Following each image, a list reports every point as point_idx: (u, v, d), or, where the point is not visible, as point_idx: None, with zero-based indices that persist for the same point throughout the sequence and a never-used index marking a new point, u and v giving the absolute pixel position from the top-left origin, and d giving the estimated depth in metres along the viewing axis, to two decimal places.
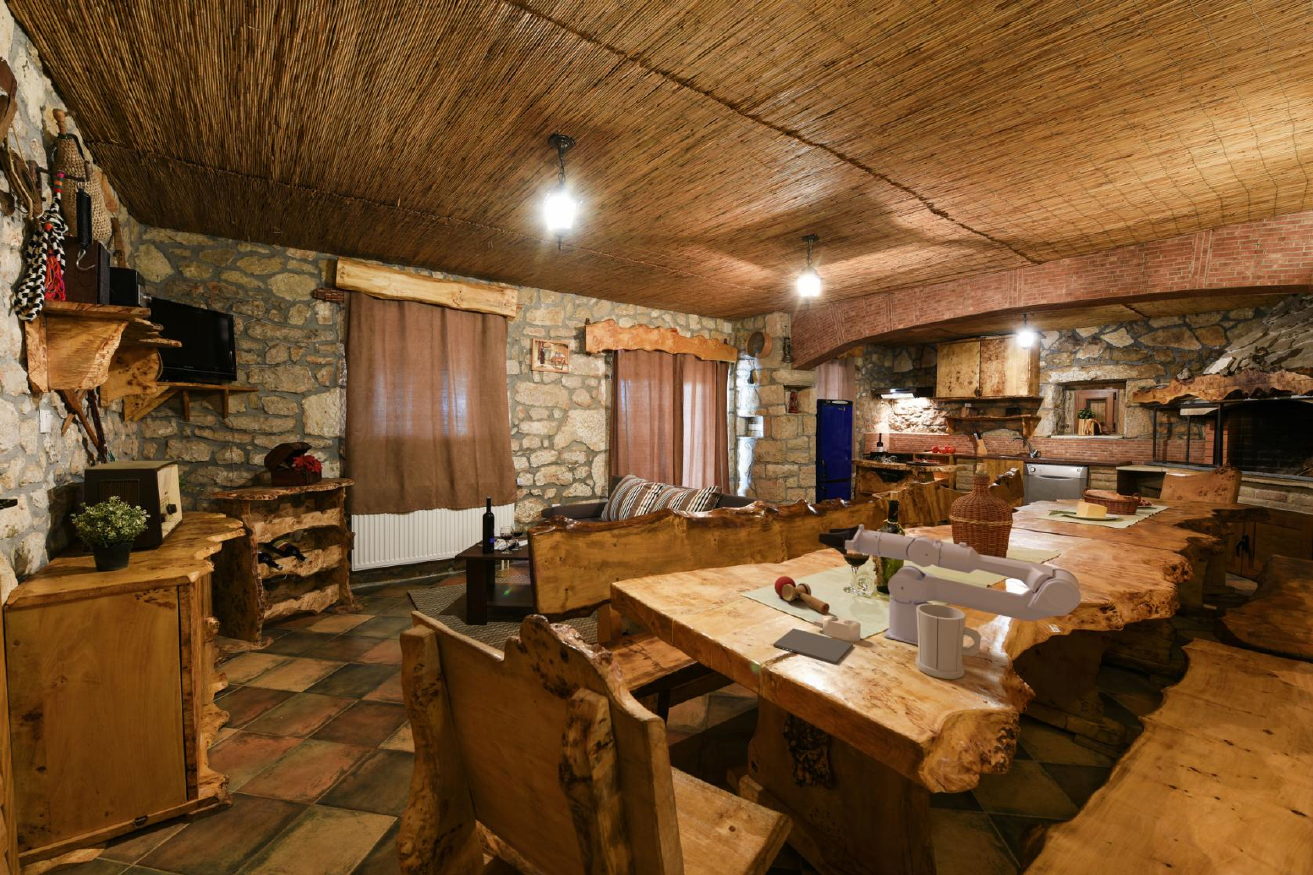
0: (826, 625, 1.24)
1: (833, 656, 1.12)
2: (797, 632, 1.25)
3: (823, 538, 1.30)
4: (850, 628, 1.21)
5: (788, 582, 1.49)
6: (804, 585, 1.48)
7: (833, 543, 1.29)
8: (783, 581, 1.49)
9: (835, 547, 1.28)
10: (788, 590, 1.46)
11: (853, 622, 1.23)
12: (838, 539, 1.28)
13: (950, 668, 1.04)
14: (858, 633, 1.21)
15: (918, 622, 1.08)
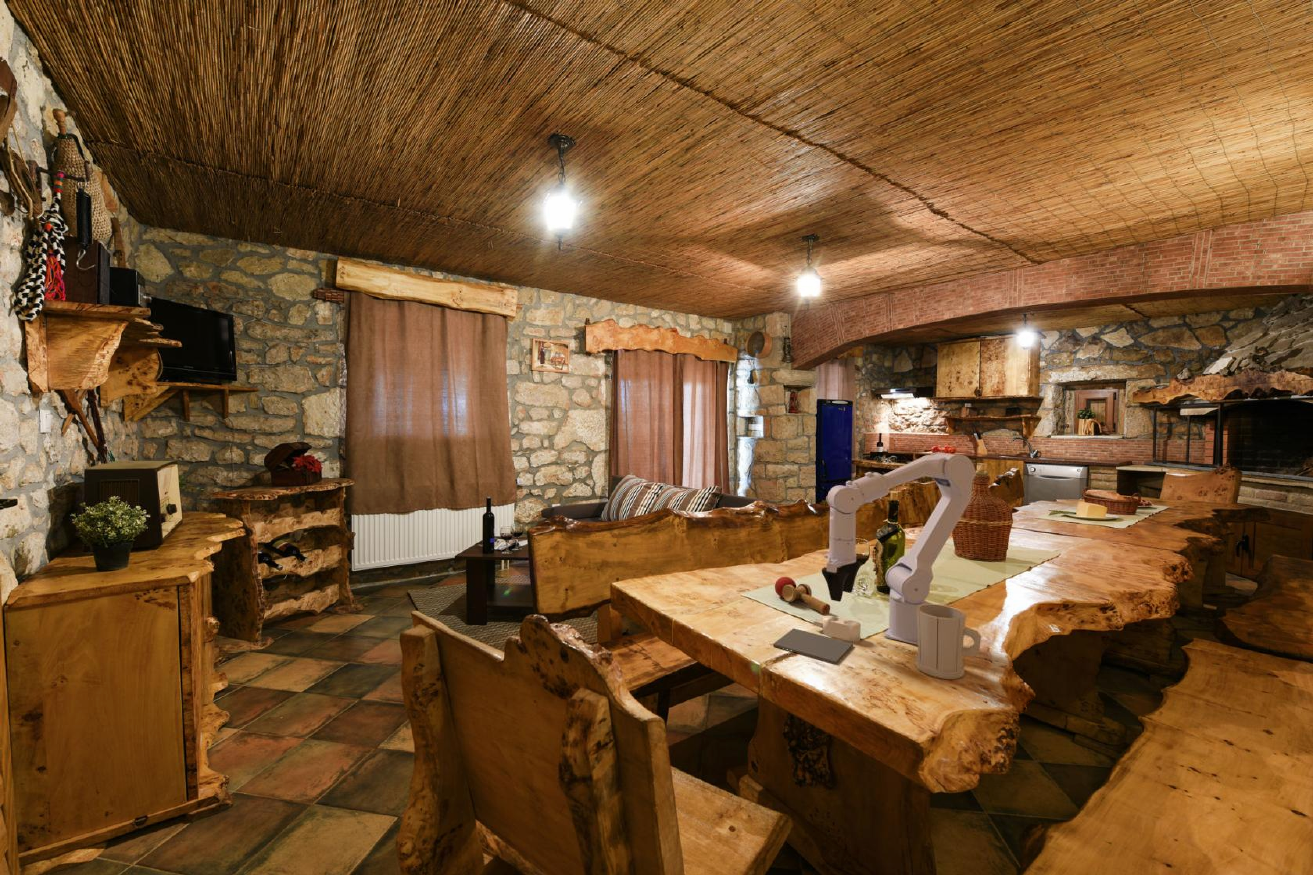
0: (826, 624, 1.24)
1: (833, 656, 1.12)
2: (797, 632, 1.25)
3: (834, 595, 1.20)
4: (850, 628, 1.21)
5: (788, 582, 1.48)
6: (804, 586, 1.47)
7: (838, 585, 1.20)
8: (783, 582, 1.49)
9: (840, 583, 1.19)
10: (788, 590, 1.46)
11: (853, 622, 1.23)
12: (833, 579, 1.20)
13: (950, 668, 1.04)
14: (858, 633, 1.21)
15: (918, 622, 1.08)
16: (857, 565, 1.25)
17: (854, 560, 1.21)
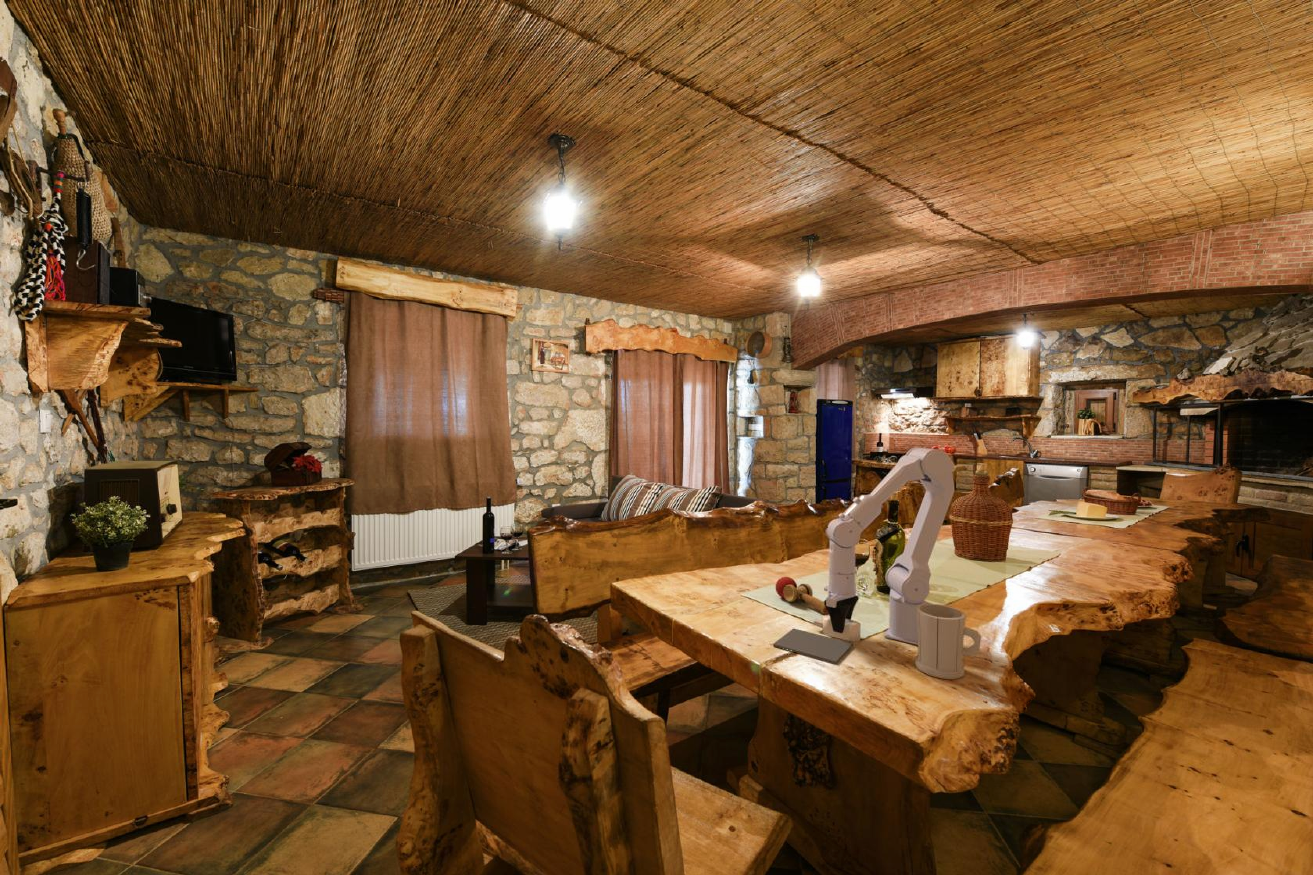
0: (826, 624, 1.24)
1: (833, 656, 1.12)
2: (797, 632, 1.25)
3: (836, 626, 1.22)
4: (850, 628, 1.21)
5: (789, 583, 1.48)
6: (805, 586, 1.47)
7: (840, 617, 1.21)
8: (784, 582, 1.48)
9: (842, 615, 1.20)
10: (789, 590, 1.46)
11: (853, 622, 1.23)
12: (835, 611, 1.22)
13: (950, 668, 1.04)
14: (858, 633, 1.21)
15: (918, 622, 1.08)
16: (854, 600, 1.24)
17: (854, 594, 1.22)
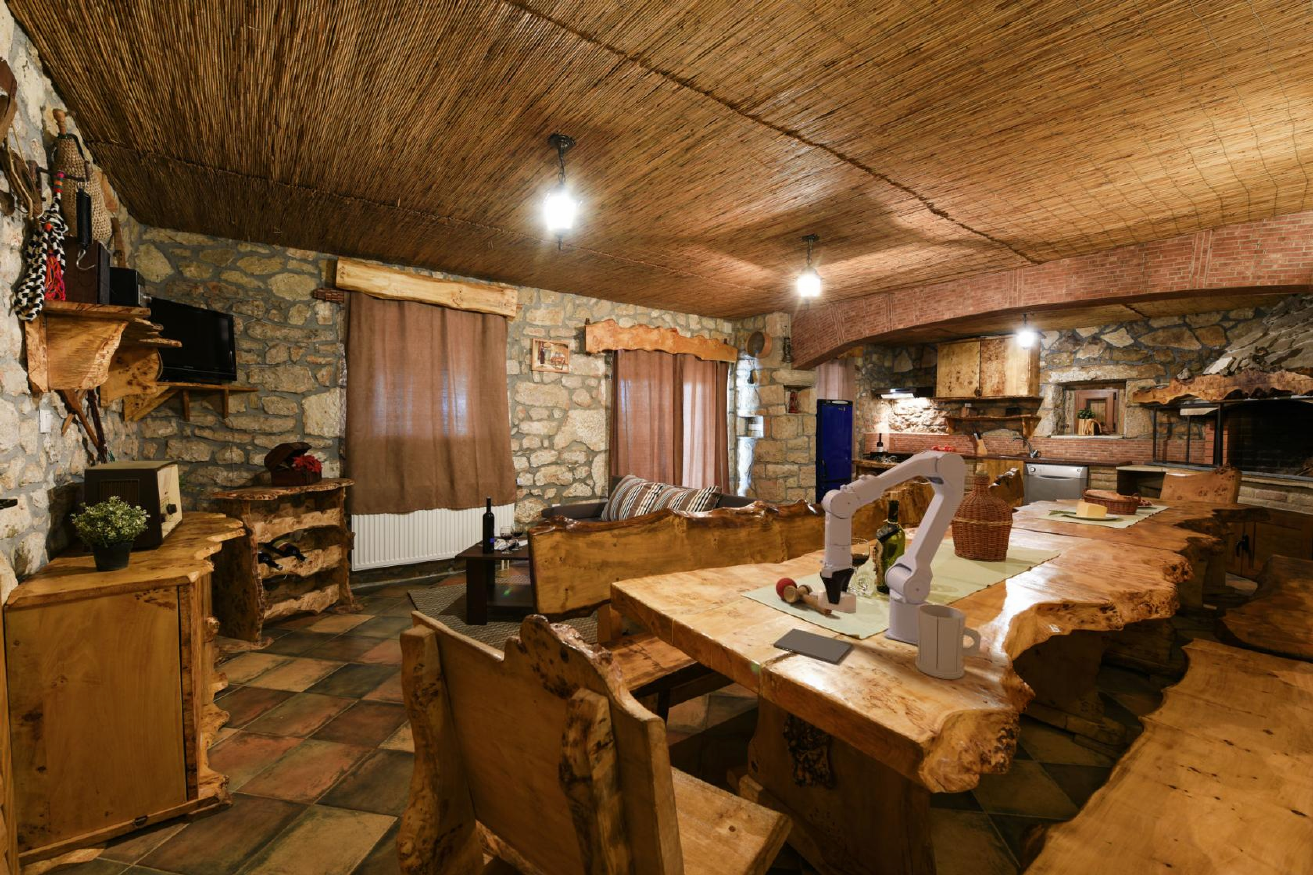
0: (822, 596, 1.23)
1: (833, 656, 1.12)
2: (797, 632, 1.25)
3: (832, 598, 1.21)
4: (845, 599, 1.20)
5: (790, 583, 1.47)
6: (806, 586, 1.47)
7: (836, 588, 1.20)
8: (784, 583, 1.48)
9: (838, 586, 1.19)
10: (790, 591, 1.45)
11: (849, 594, 1.22)
12: (831, 582, 1.21)
13: (950, 668, 1.04)
14: (854, 605, 1.20)
15: (918, 622, 1.08)
16: (850, 572, 1.23)
17: (849, 565, 1.20)
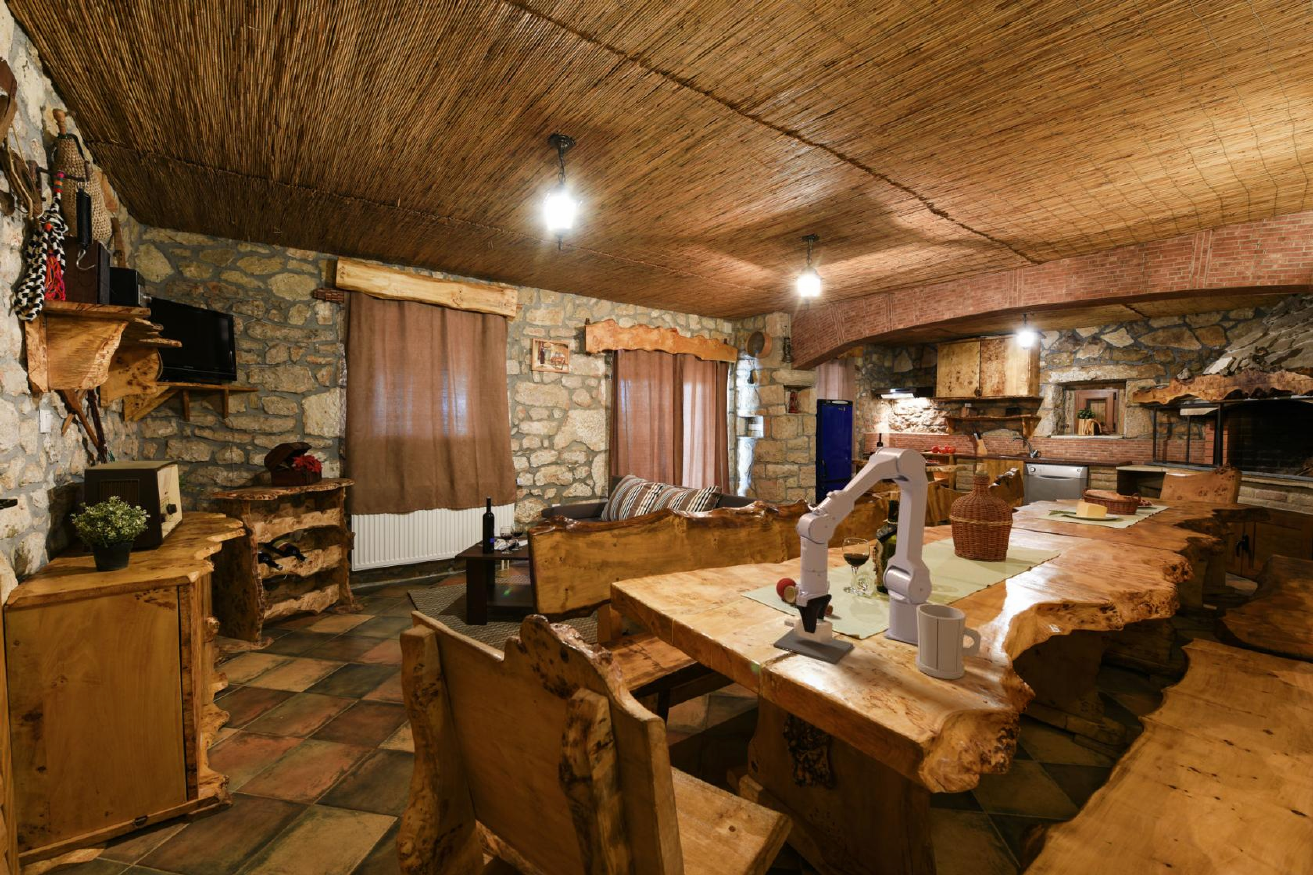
0: (797, 624, 1.19)
1: (833, 656, 1.12)
2: None
3: (807, 626, 1.16)
4: (821, 628, 1.15)
5: (790, 584, 1.47)
6: None
7: (812, 616, 1.16)
8: (785, 583, 1.47)
9: (813, 615, 1.15)
10: (790, 592, 1.45)
11: (825, 622, 1.17)
12: (807, 610, 1.16)
13: (950, 668, 1.04)
14: (830, 633, 1.15)
15: (918, 622, 1.08)
16: (827, 598, 1.18)
17: (826, 592, 1.16)
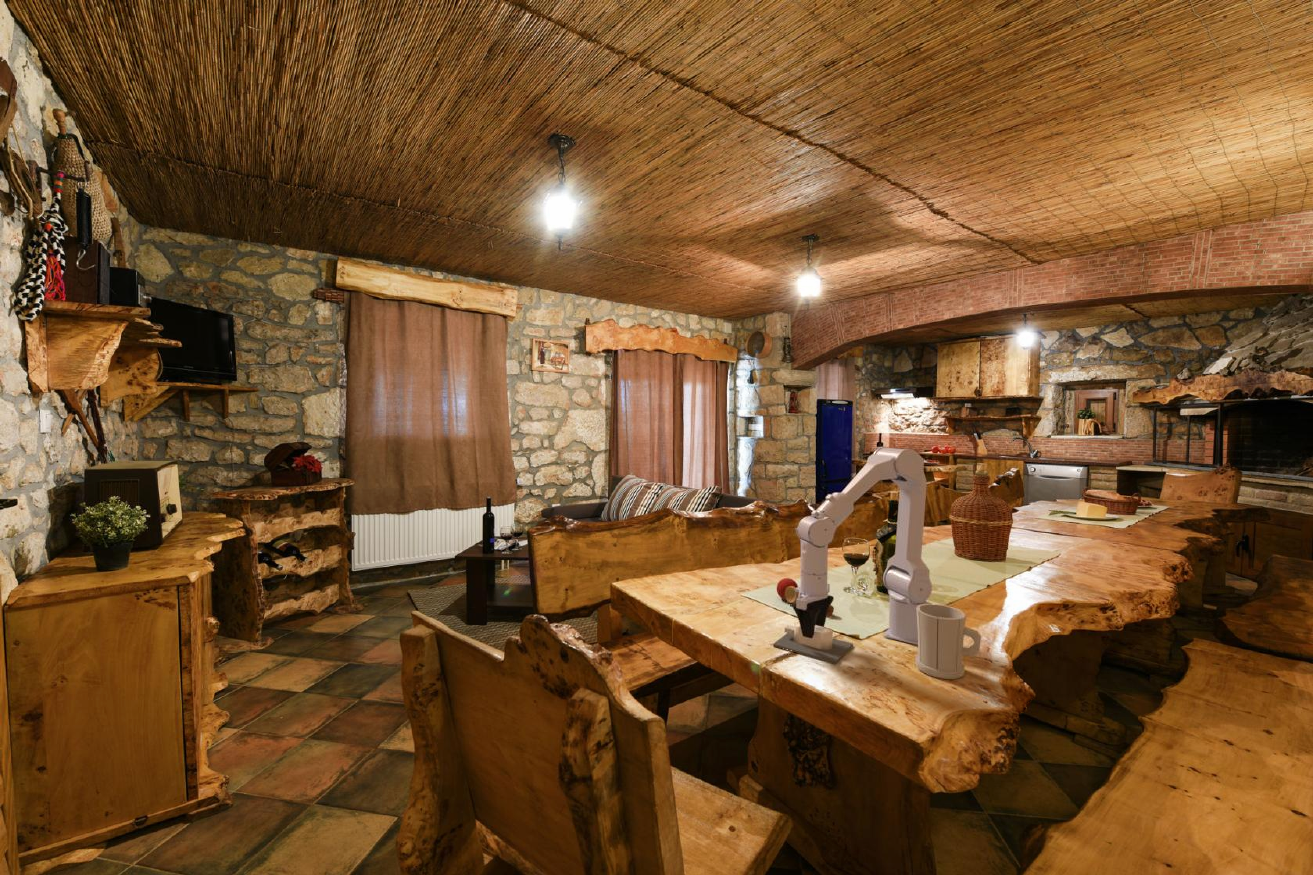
0: (797, 631, 1.19)
1: (833, 656, 1.12)
2: None
3: (806, 631, 1.16)
4: (821, 635, 1.15)
5: (791, 584, 1.47)
6: None
7: (810, 621, 1.15)
8: (785, 583, 1.47)
9: (811, 619, 1.14)
10: (791, 592, 1.45)
11: (825, 629, 1.17)
12: (805, 615, 1.16)
13: (950, 668, 1.04)
14: (830, 640, 1.15)
15: (918, 622, 1.08)
16: (829, 600, 1.19)
17: (826, 595, 1.16)
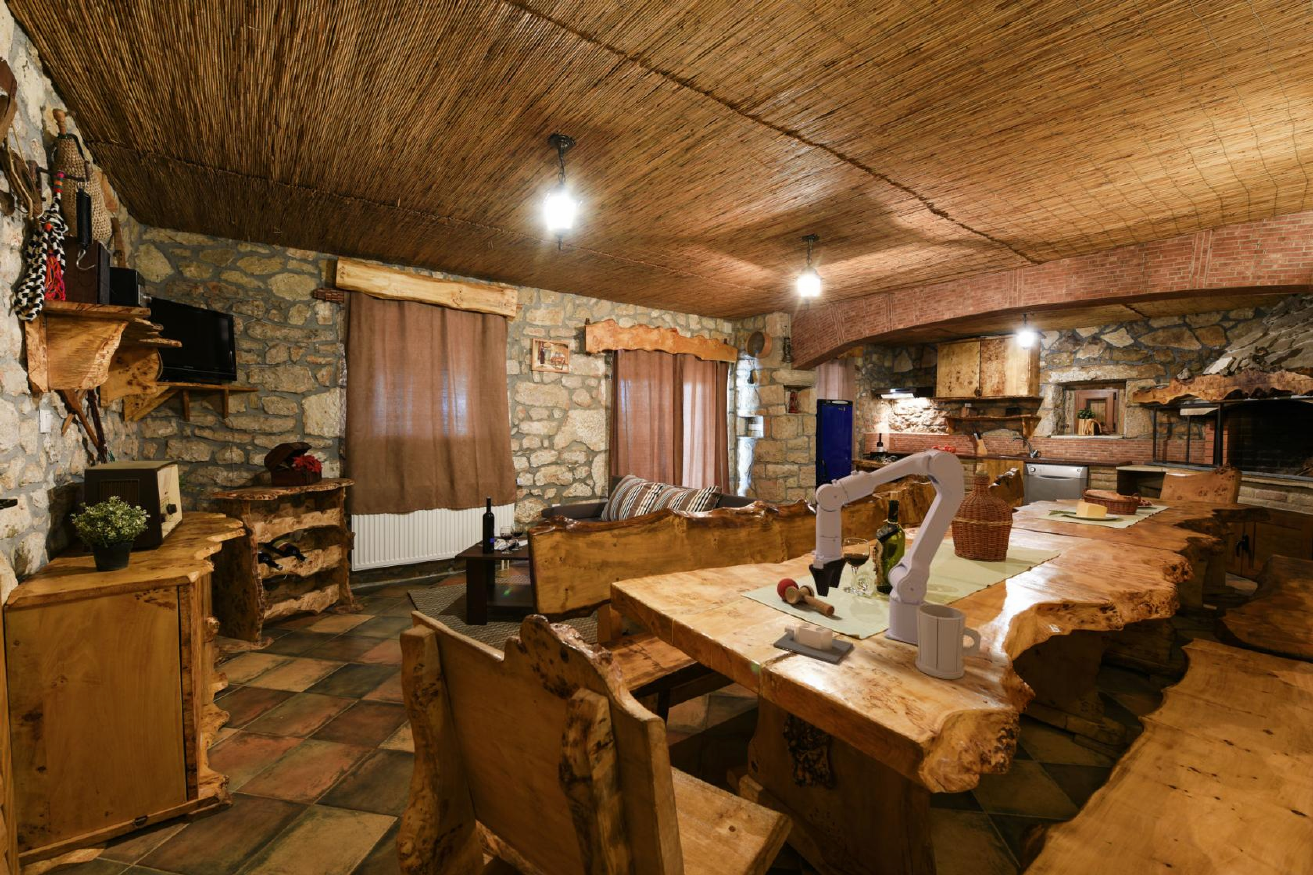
0: (797, 631, 1.19)
1: (833, 656, 1.12)
2: None
3: (821, 590, 1.24)
4: (821, 635, 1.15)
5: (791, 584, 1.47)
6: (807, 587, 1.46)
7: (825, 581, 1.23)
8: (786, 584, 1.47)
9: (826, 579, 1.22)
10: (791, 592, 1.44)
11: (825, 629, 1.17)
12: (820, 575, 1.24)
13: (950, 668, 1.04)
14: (830, 640, 1.15)
15: (918, 622, 1.08)
16: (843, 561, 1.28)
17: (840, 556, 1.25)
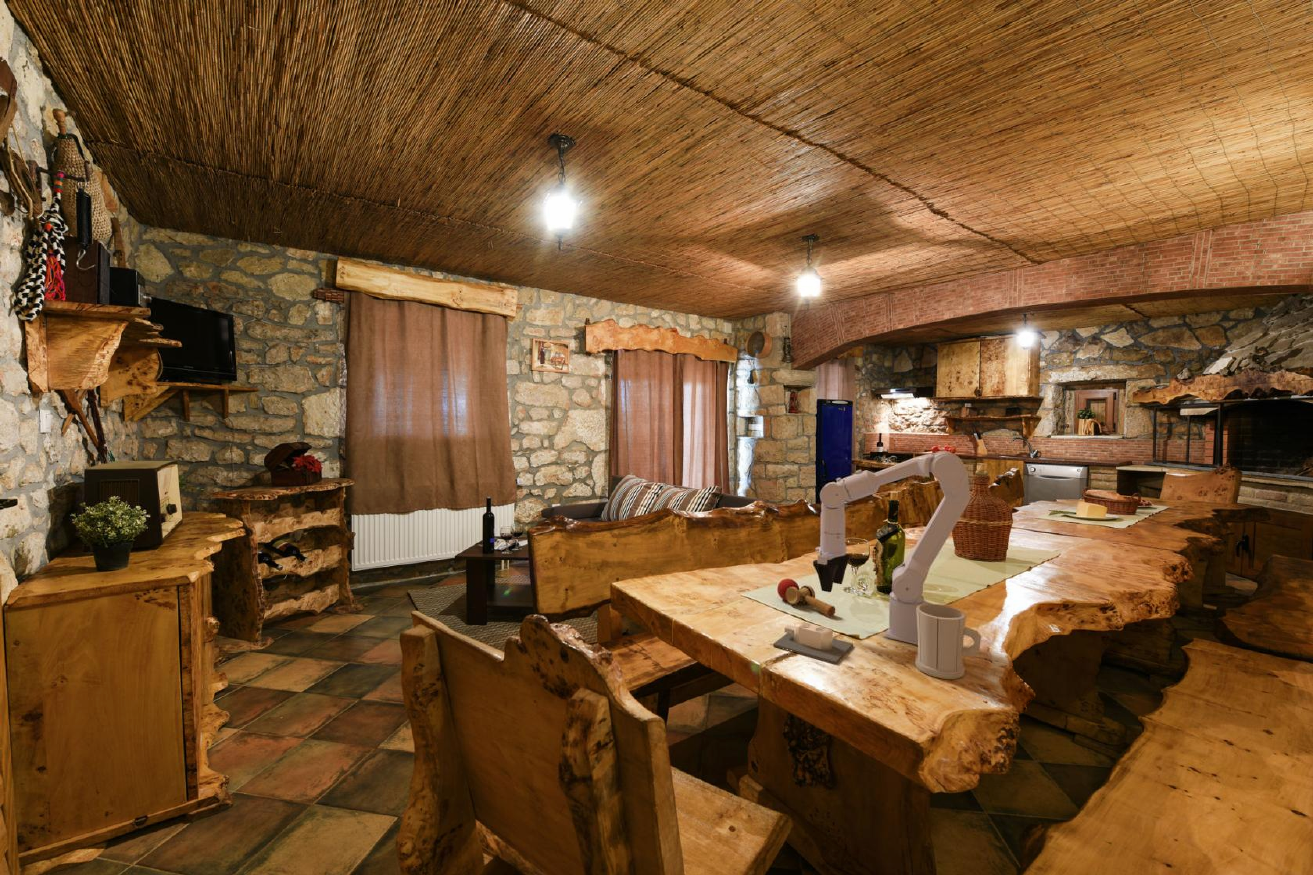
0: (797, 631, 1.19)
1: (833, 656, 1.12)
2: None
3: (824, 586, 1.27)
4: (821, 635, 1.15)
5: (792, 585, 1.46)
6: (808, 587, 1.46)
7: (828, 576, 1.26)
8: (786, 584, 1.47)
9: (830, 575, 1.25)
10: (792, 593, 1.44)
11: (825, 629, 1.17)
12: (824, 571, 1.27)
13: (950, 668, 1.04)
14: (830, 640, 1.15)
15: (918, 622, 1.08)
16: (847, 558, 1.31)
17: (844, 553, 1.28)
